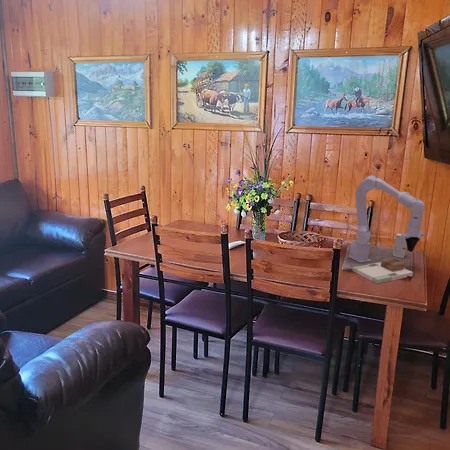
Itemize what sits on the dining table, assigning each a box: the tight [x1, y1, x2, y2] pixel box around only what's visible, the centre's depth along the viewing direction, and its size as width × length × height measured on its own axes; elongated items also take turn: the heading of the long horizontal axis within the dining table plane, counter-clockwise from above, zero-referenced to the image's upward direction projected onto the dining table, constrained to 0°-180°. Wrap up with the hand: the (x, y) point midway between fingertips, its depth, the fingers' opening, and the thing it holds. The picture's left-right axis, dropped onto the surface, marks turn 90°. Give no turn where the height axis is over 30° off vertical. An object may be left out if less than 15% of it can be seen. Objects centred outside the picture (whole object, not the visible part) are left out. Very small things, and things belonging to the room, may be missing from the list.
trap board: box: [352, 261, 414, 285], centre depth 214 cm, size 16×24×2 cm
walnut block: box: [380, 257, 405, 272], centre depth 216 cm, size 8×8×4 cm
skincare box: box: [392, 233, 407, 259], centre depth 237 cm, size 6×4×12 cm
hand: (409, 251), depth 220 cm, fingers closed
